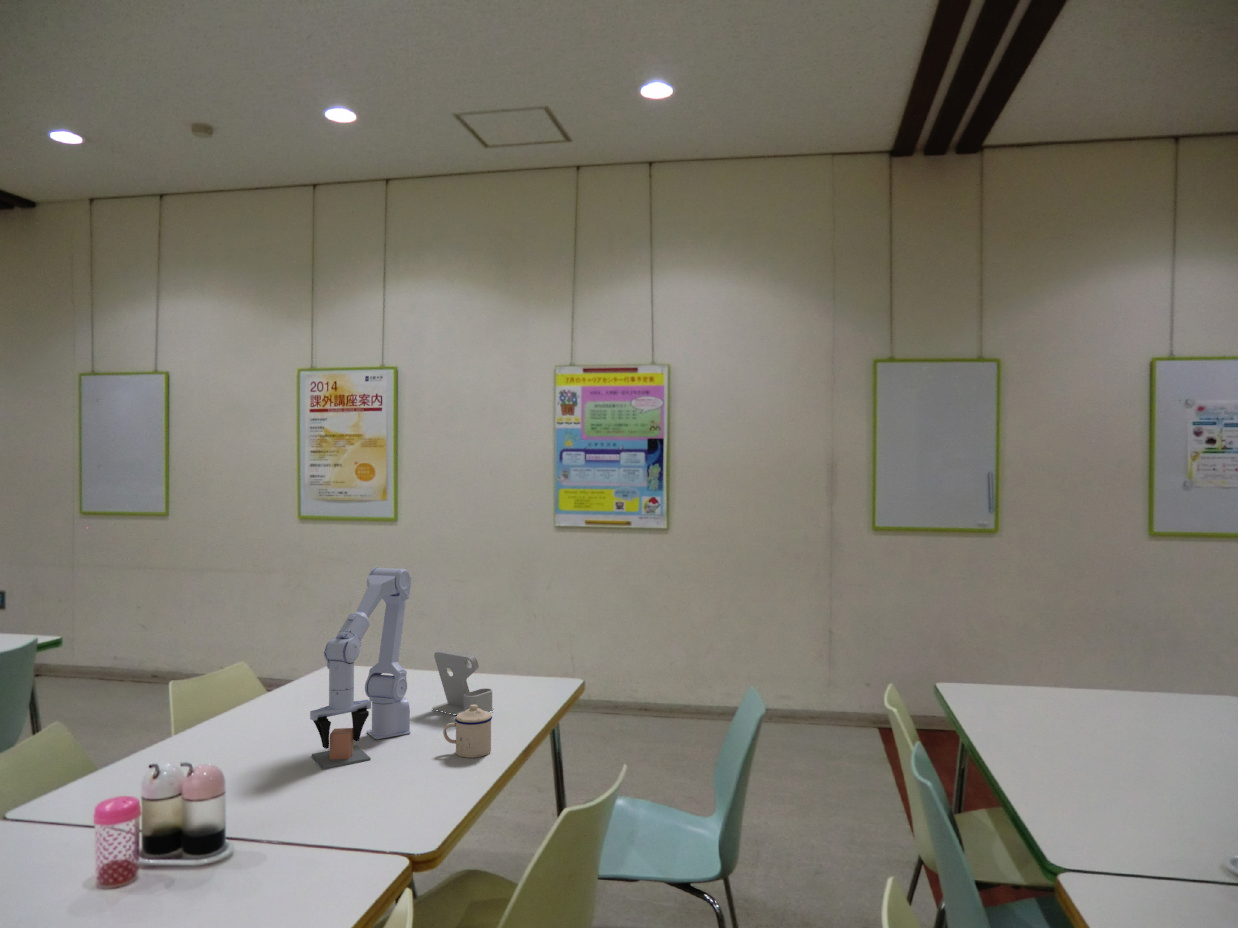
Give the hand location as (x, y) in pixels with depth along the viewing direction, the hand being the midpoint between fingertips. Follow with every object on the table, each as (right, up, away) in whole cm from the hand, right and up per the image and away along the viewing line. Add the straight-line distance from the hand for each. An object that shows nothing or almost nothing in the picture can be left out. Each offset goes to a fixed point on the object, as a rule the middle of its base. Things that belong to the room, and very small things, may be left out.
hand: (341, 743), depth 191 cm
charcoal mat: (0, -3, 0) cm, 3 cm away
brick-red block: (0, -3, 0) cm, 3 cm away
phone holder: (+22, -5, +40) cm, 45 cm away
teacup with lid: (+30, -4, +4) cm, 31 cm away
